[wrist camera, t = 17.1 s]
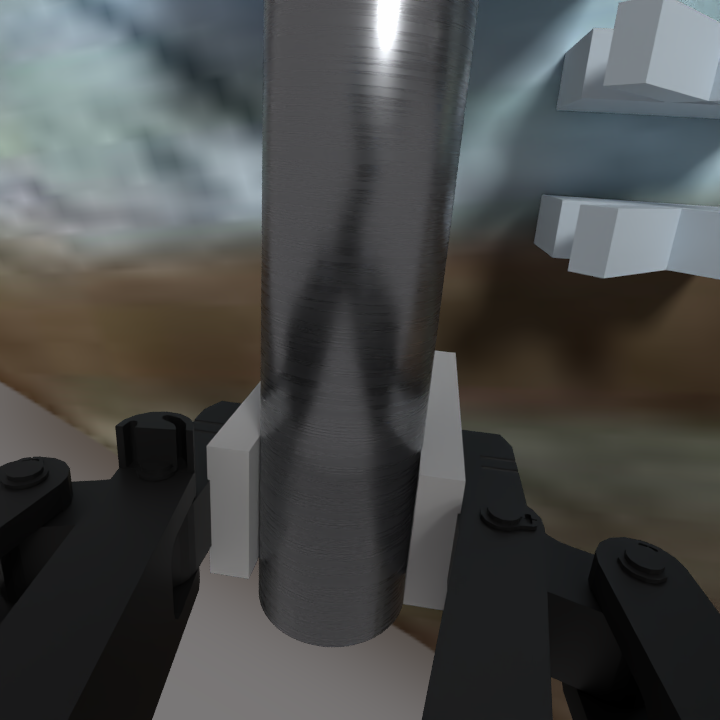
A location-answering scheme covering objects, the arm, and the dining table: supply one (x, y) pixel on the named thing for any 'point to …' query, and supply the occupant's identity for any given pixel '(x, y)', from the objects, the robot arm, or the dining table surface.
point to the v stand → (641, 97)
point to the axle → (351, 295)
